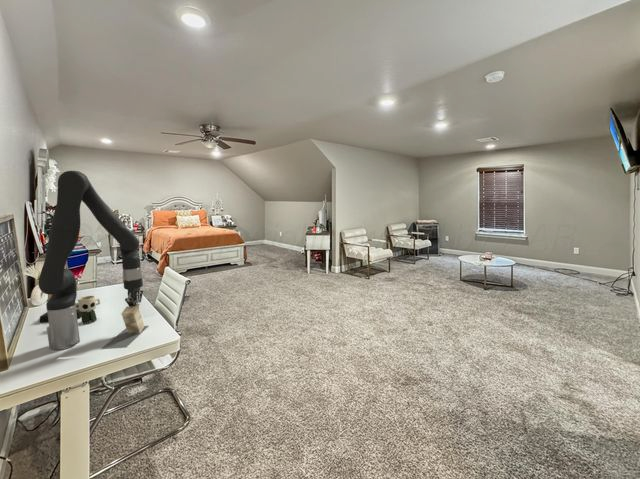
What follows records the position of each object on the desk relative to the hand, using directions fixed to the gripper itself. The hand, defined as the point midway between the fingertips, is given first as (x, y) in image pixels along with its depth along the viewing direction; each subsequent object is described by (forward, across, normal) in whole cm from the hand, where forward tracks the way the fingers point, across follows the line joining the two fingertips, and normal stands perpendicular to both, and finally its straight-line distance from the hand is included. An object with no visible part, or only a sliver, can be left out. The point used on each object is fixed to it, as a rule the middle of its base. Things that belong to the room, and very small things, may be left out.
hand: (136, 313), depth 139 cm
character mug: (+9, -17, -31) cm, 36 cm away
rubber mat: (+9, +6, -2) cm, 11 cm away
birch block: (+8, +1, 0) cm, 8 cm away
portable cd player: (+10, -29, -48) cm, 58 cm away
